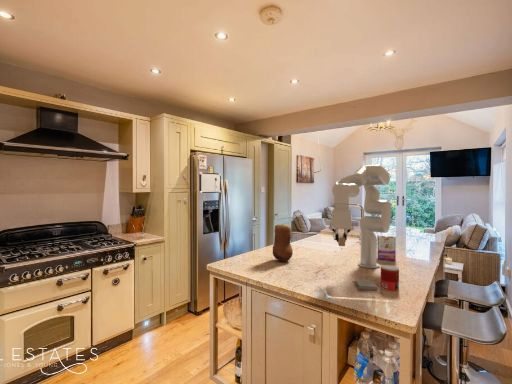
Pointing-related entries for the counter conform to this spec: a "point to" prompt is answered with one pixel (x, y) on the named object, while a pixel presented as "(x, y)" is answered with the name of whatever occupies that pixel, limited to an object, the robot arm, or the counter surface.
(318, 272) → the counter surface
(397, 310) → the counter surface
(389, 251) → the candy bar box
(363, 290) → the board
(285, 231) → the butternut squash
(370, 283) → the tile
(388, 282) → the canned food
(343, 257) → the counter surface
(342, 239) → the tall wooden pillar
